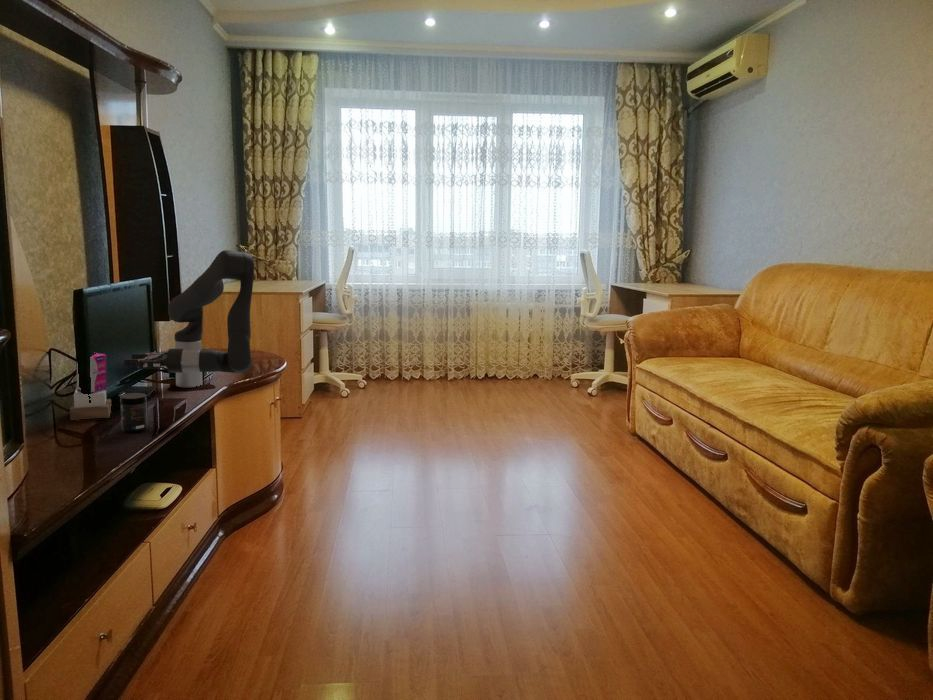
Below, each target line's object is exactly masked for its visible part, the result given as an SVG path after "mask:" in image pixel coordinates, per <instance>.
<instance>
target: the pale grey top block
mask: <svg viewBox="0 0 933 700" xmlns="http://www.w3.org/2000/svg"><path fill="white" fill-rule="evenodd" d="M88 396H90V397H91V398H90V399H89V397H88ZM106 399H107V389H106V390H102V391H99V392H95V393H92V394H89V395H88V394H83V393H81V392H79V391H77V388H76V389H75V391H74V393H73V403H74V406H75V408H80V407H94V406H105V404H106ZM89 400H91V403H89Z"/></svg>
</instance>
